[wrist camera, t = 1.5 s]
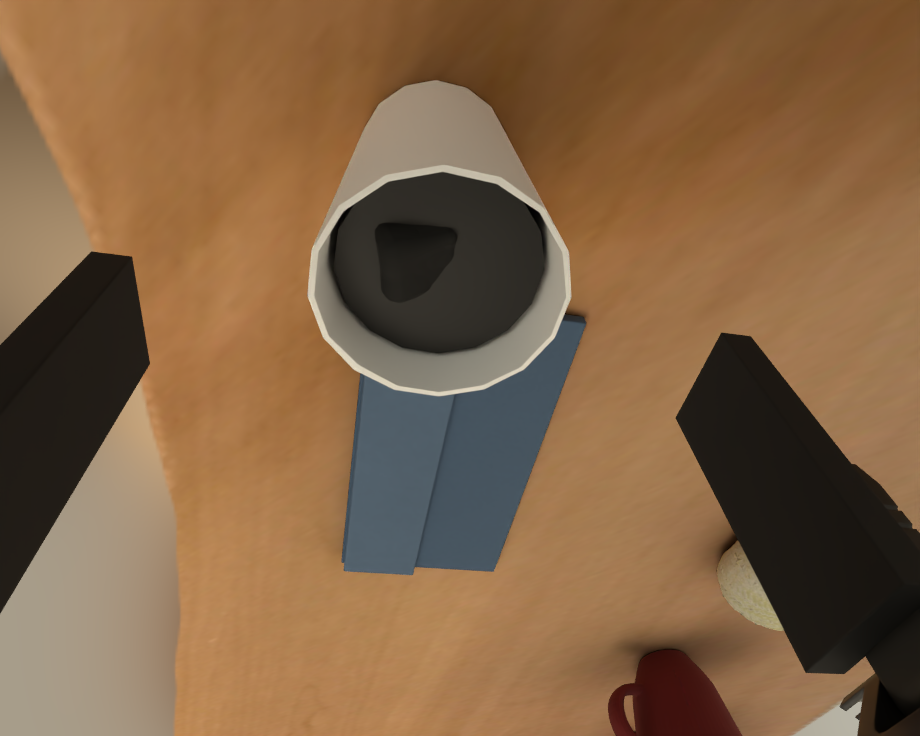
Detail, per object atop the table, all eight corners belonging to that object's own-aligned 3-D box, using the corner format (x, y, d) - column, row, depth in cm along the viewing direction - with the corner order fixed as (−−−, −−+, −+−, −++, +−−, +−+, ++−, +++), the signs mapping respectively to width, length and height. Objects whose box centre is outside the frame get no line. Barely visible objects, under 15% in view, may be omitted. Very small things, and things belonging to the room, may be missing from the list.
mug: (572, 676, 50) (599, 818, 42) (613, 628, 46) (652, 778, 38) (680, 685, 53) (725, 822, 45) (730, 641, 48) (790, 785, 40)
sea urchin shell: (856, 602, 41) (817, 694, 37) (741, 541, 46) (695, 618, 41) (905, 521, 36) (866, 619, 31) (769, 461, 40) (719, 540, 36)
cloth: (369, 288, 26) (367, 302, 25) (584, 316, 28) (589, 330, 27) (342, 554, 38) (340, 571, 37) (493, 564, 40) (494, 580, 39)
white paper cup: (353, 239, 25) (321, 396, 17) (340, 63, 20) (288, 161, 13) (512, 241, 25) (553, 395, 17) (529, 69, 21) (594, 167, 13)
